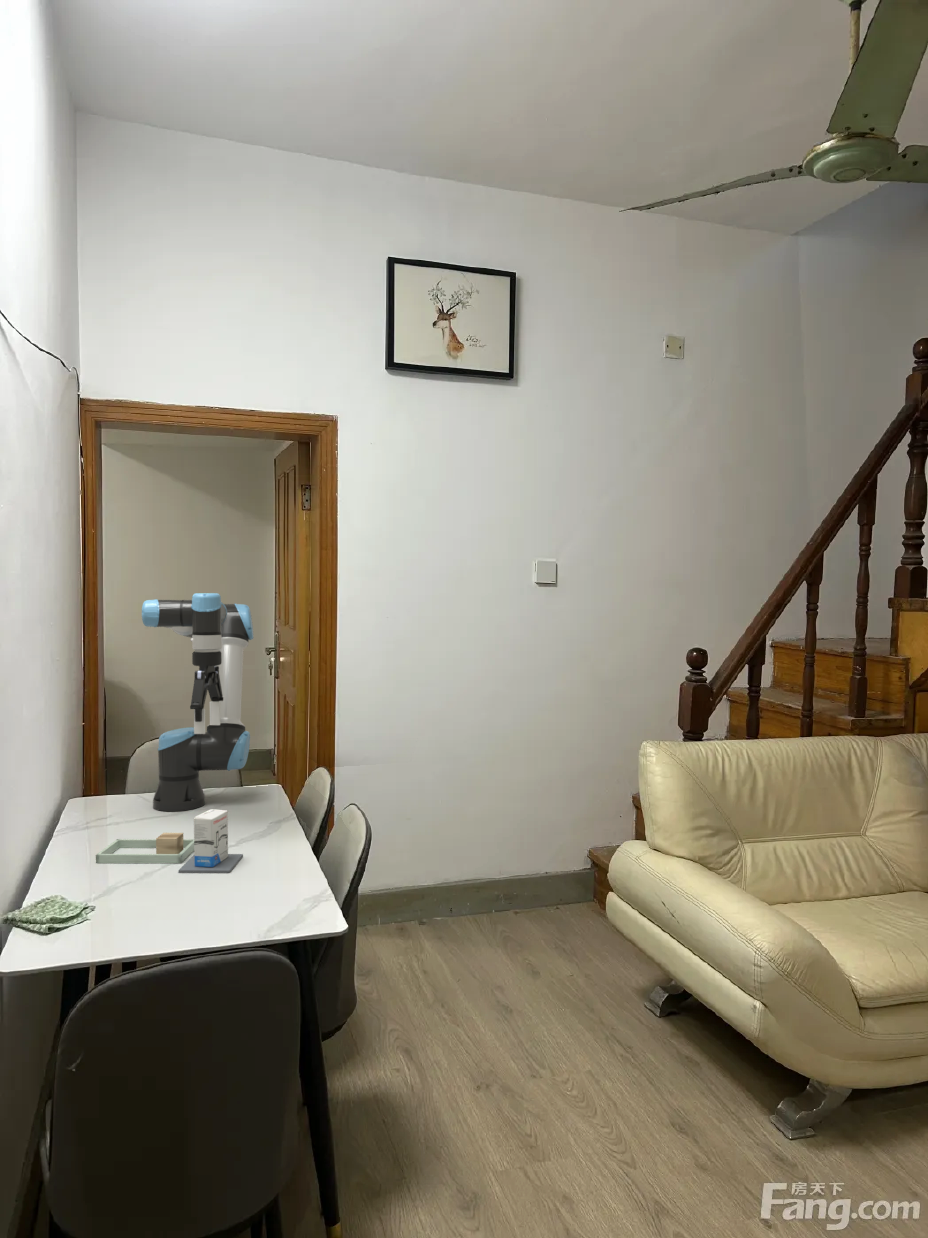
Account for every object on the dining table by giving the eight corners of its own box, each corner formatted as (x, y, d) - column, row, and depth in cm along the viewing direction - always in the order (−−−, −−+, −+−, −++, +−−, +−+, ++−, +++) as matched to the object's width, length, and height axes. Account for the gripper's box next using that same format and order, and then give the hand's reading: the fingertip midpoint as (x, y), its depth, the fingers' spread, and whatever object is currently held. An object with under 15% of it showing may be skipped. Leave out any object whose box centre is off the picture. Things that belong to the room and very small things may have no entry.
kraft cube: (163, 852, 212) (163, 832, 211) (183, 852, 212) (183, 832, 211) (156, 858, 207) (156, 838, 206) (176, 858, 207) (176, 838, 206)
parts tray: (117, 846, 215) (117, 839, 215) (197, 847, 215) (197, 839, 215) (95, 863, 203) (95, 855, 203) (180, 863, 203) (180, 855, 203)
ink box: (212, 868, 198) (212, 819, 197) (193, 866, 199) (192, 818, 198) (229, 856, 206) (228, 809, 206) (210, 855, 207) (210, 808, 207)
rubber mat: (194, 856, 208) (194, 854, 208) (242, 856, 208) (242, 854, 208) (178, 873, 196) (178, 870, 196) (229, 873, 196) (229, 870, 196)
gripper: (207, 647, 236) (207, 721, 237) (177, 654, 212) (178, 737, 212) (233, 647, 237) (234, 721, 237) (206, 654, 212) (207, 737, 212)
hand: (207, 729), depth 225 cm, fingers open, 13 cm apart
